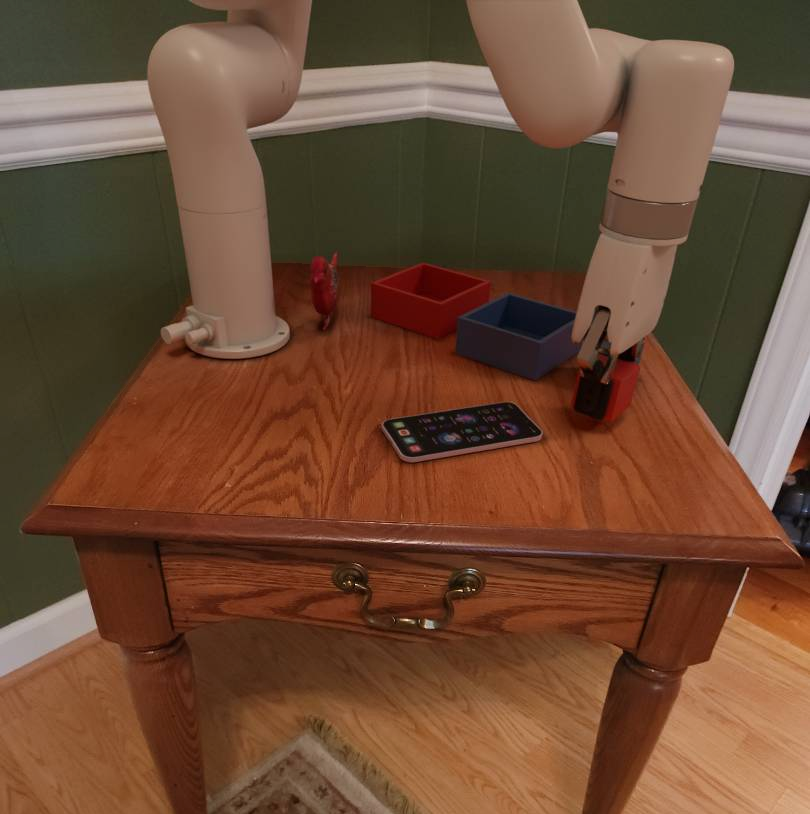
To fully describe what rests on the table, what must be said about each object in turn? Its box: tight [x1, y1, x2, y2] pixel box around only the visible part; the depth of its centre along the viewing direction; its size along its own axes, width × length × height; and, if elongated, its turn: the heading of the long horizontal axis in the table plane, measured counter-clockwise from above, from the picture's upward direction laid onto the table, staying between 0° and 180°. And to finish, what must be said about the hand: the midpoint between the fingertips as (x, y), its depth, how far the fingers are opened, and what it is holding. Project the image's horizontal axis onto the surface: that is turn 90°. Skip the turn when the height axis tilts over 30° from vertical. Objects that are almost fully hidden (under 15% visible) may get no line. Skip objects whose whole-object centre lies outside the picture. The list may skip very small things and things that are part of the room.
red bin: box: [370, 262, 492, 340], centre depth 96 cm, size 11×11×4 cm
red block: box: [570, 354, 641, 423], centre depth 72 cm, size 4×4×4 cm
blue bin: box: [454, 292, 583, 382], centre depth 87 cm, size 11×11×4 cm
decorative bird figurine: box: [309, 250, 339, 332], centre depth 92 cm, size 3×18×10 cm, turn 177°
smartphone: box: [381, 401, 544, 463], centre depth 72 cm, size 8×1×15 cm
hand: (600, 403), depth 74 cm, fingers closed on red block, 4 cm apart
